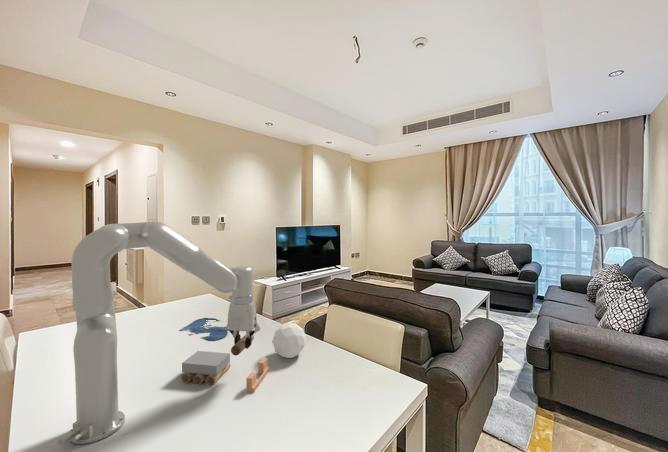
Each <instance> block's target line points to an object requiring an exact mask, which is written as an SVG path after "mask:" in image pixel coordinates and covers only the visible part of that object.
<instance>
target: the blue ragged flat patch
mask: <svg viewBox="0 0 668 452" xmlns="http://www.w3.org/2000/svg"><path fill="white" fill-rule="evenodd" d="M206 320H207V321H206ZM208 320H216V321H215V322H219V321H220V320H219V319H217V318H215V317H211V318H210V317H203V318H198V319H195V320H194V321H192V322H190V323H189V324H188V325H186V326H184V327H182V328H180V329H179V330H178V332H189V334H187V335H188V336H189V337H190V336H193V335H200V334H208V335H207V336H202V337H201V339H204V340H207V341H217V340H219V341H220V340H221V339H223V338H225V337H227V335H228V332H229V331H228V330H227V329H226V326H222V327H221V326H218V325H217V326H216V325H215V326H213V324H208V323H210V321H208ZM205 324H206V325H205Z"/></svg>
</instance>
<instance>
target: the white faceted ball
mask: <svg viewBox="0 0 668 452" xmlns="http://www.w3.org/2000/svg"><path fill="white" fill-rule="evenodd" d="M306 340H307V338H306V335H305V331H304V329H303V328H302V327H301V326H299V325H298V324H296V323H289V322H287V323H283V324H282V325H281V326H279V328H277V329H276V330H275V331H274V335H273V339H272V341H271V342H272V345H273V349H274V352H276V353H277V354H278V355H280V356H281V357H282V358H284V359H285V358H286V359H292V358H294V357H296V356H298V355H299V354H300V353H301V352H302V351H304V348H305V345H306Z"/></svg>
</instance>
